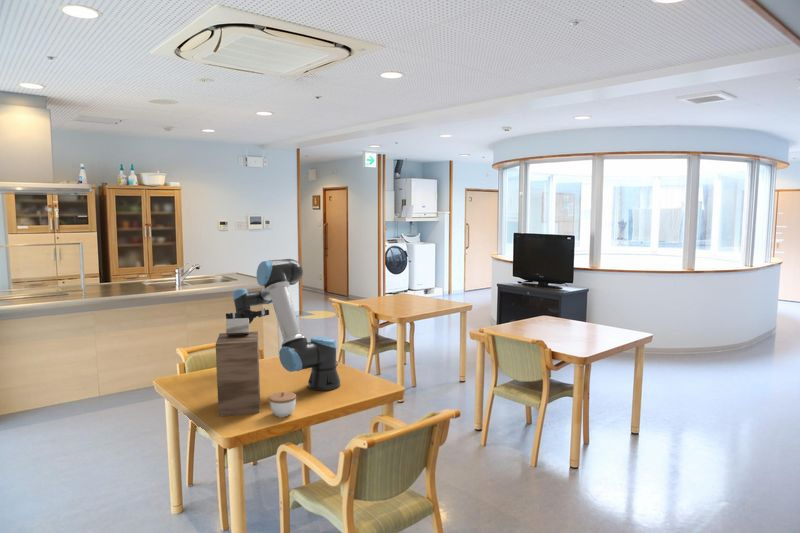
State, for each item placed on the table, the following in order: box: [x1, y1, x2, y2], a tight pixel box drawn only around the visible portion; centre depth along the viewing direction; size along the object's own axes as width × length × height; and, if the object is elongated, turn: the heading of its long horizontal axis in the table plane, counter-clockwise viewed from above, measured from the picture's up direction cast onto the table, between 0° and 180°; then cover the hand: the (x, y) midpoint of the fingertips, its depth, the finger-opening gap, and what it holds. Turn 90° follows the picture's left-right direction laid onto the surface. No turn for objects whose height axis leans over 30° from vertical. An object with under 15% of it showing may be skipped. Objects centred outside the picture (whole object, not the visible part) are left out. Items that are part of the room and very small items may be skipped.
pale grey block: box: [225, 318, 250, 335], centre depth 242 cm, size 28×9×6 cm, turn 13°
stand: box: [215, 330, 261, 417], centre depth 230 cm, size 19×16×30 cm
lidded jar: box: [268, 391, 297, 418], centre depth 222 cm, size 11×11×9 cm
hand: (249, 312), depth 257 cm, fingers open, 13 cm apart
